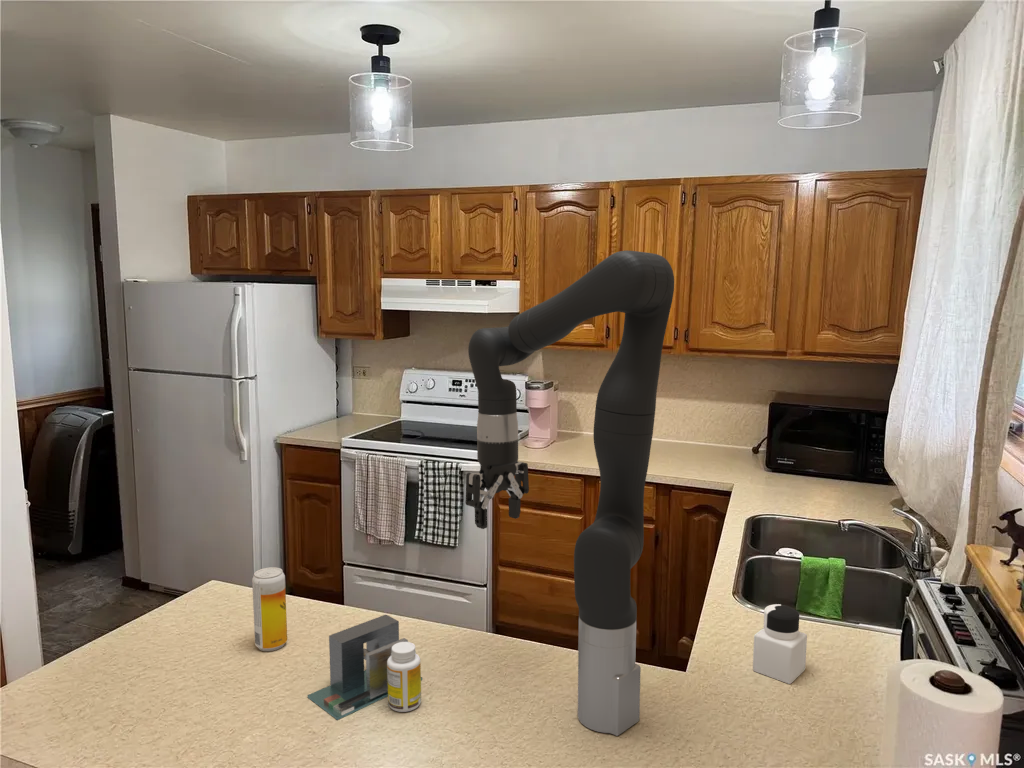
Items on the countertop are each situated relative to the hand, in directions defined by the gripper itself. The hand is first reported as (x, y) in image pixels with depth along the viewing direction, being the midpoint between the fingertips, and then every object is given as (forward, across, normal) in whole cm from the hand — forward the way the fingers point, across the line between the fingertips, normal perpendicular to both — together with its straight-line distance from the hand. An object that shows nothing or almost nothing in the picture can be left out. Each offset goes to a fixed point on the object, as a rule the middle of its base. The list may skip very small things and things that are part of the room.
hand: (498, 522), depth 134 cm
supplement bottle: (+27, -22, +1) cm, 35 cm away
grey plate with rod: (+26, -25, +9) cm, 37 cm away
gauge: (+27, -24, +10) cm, 37 cm away
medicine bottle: (+27, +33, -40) cm, 59 cm away
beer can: (+27, -27, +37) cm, 53 cm away
